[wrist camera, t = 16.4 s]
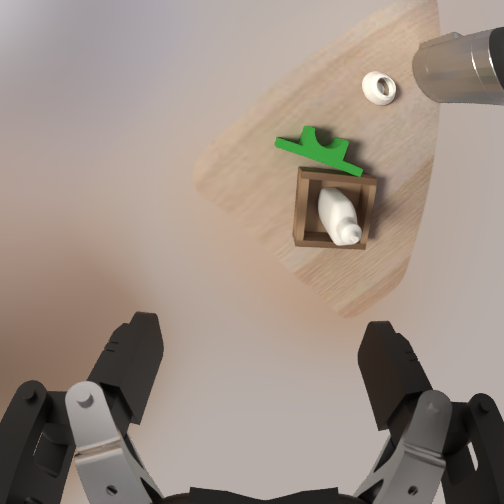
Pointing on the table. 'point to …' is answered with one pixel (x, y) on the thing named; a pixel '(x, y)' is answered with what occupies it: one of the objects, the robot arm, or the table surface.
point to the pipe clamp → (320, 150)
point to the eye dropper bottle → (338, 217)
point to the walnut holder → (306, 206)
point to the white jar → (378, 88)
